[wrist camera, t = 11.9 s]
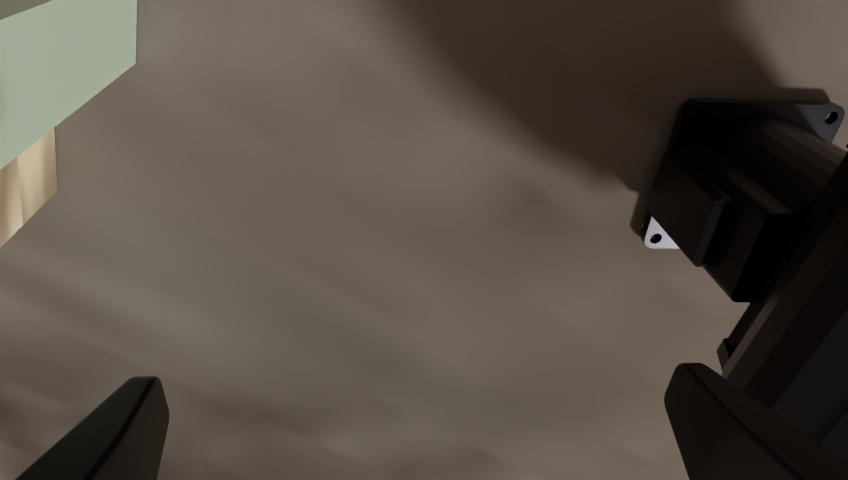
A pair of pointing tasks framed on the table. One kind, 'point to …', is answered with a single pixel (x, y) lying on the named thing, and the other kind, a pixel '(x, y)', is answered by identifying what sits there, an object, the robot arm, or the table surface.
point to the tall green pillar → (57, 62)
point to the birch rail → (27, 185)
